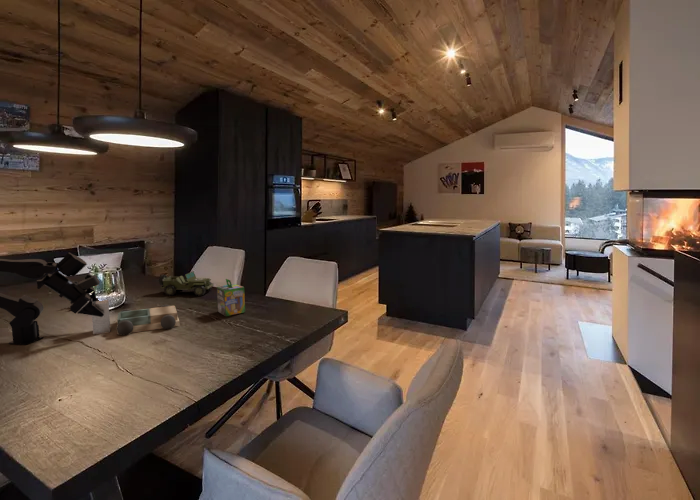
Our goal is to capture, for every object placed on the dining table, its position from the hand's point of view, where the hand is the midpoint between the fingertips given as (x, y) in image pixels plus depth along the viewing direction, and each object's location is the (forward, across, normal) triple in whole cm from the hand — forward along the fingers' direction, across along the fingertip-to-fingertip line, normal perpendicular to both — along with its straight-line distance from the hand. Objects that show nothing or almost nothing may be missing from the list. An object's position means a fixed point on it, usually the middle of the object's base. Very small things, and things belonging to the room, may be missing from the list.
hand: (103, 312), depth 137 cm
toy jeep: (+29, +47, -18) cm, 58 cm away
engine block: (+4, 0, +6) cm, 7 cm away
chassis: (+15, 0, -5) cm, 16 cm away
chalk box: (+38, +2, -27) cm, 47 cm away
